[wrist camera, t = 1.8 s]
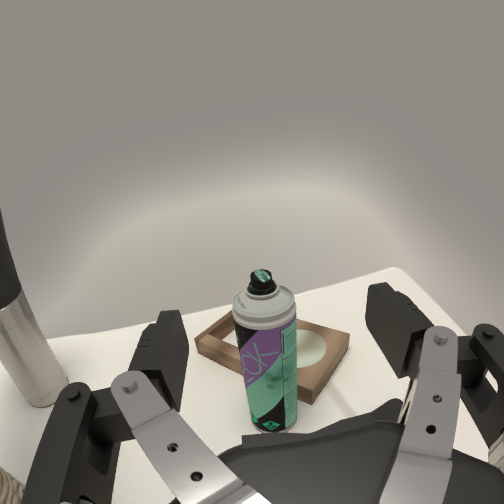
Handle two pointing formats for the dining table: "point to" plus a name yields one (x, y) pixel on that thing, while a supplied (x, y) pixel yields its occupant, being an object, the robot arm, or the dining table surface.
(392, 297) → the robot arm
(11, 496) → the carving
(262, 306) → the spray can
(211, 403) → the dining table surface
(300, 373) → the walnut tray
